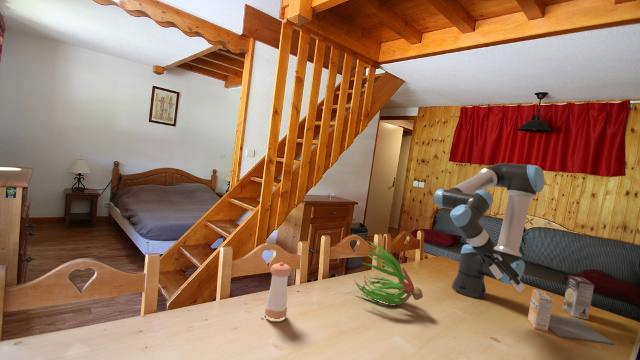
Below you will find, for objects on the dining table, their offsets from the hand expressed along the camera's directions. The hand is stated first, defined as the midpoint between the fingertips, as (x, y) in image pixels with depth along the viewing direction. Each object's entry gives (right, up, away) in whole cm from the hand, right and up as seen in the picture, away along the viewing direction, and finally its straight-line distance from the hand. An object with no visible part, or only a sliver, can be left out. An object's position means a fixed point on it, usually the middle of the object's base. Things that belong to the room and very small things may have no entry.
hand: (510, 283), depth 127 cm
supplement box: (+12, -18, +3) cm, 22 cm away
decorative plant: (-48, -10, +7) cm, 50 cm away
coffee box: (+41, -20, +20) cm, 50 cm away
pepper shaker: (-90, -7, -16) cm, 91 cm away
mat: (+26, -19, +4) cm, 33 cm away
